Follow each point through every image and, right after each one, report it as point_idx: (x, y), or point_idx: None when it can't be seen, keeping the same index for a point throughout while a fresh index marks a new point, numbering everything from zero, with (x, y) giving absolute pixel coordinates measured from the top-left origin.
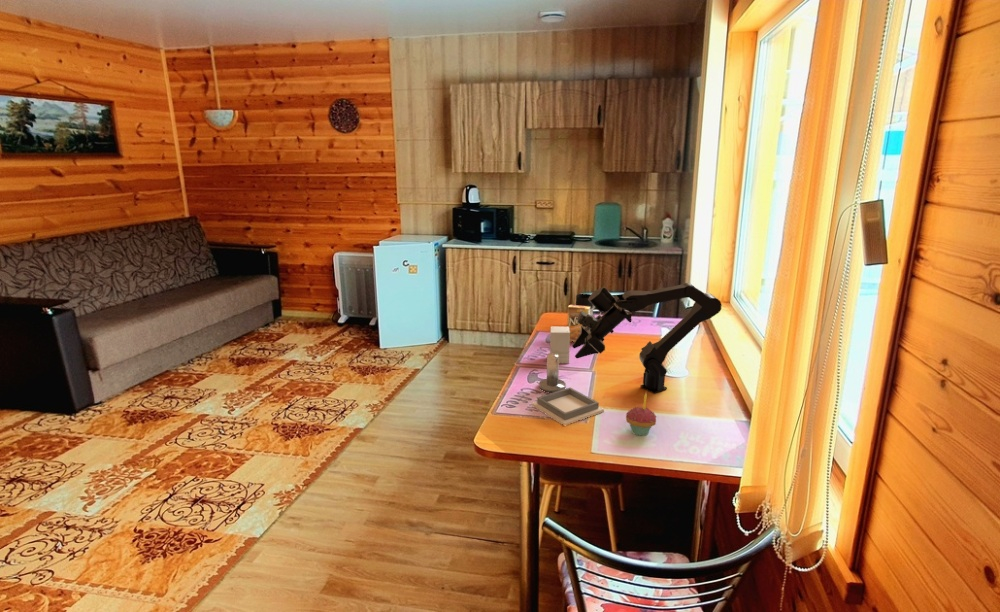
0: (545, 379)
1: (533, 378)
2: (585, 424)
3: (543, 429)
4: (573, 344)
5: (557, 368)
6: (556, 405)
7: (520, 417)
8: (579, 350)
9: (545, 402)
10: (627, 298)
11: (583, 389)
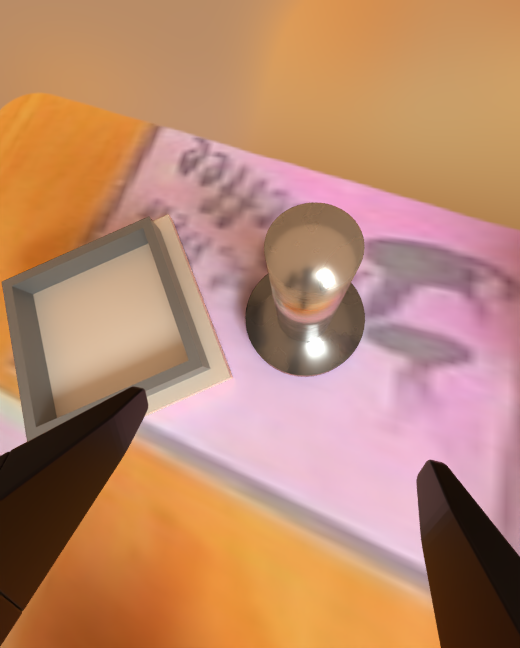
0: (354, 296)
1: (409, 265)
2: (3, 356)
3: (29, 228)
4: (447, 483)
5: (279, 306)
6: (125, 289)
7: (113, 180)
8: (66, 438)
9: (104, 237)
10: None
11: (259, 451)
